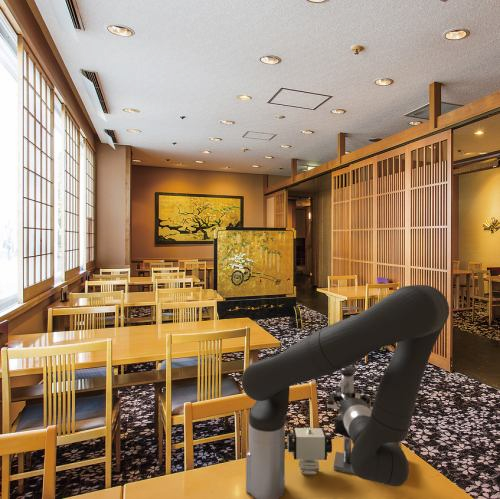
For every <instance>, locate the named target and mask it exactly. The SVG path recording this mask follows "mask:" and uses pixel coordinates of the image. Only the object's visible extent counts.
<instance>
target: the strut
mask: <svg viewBox="0 0 500 499" xmlns="http://www.w3.org/2000/svg"><path fill="white" fill-rule="evenodd" d="M339 373H340V377H341V378H340V379H341V380H340V384H341V385H340V386H341V388H340V389H341V392H342V394H343V395H346V396H347V398H349V399H351V398H354V389H355V387H354V385H355V384H354V383H355V382H354V381H355V380H354V377H355V373H356V368H355V366H352V365H350V366H348V367H346V368H344V369H341V370H339ZM334 433H335V434H339V435H341V436H342V435H343V436H345V437H348V438H350V439H351V437H350V435H349V434H348V432H347V430H346V428H345V426H344V422H343V420H342V417H341V414H339V415H337V416H335V418H334ZM343 436H342V437H343Z"/></svg>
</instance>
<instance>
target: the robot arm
mask: <svg viewBox="0 0 500 499" xmlns="http://www.w3.org/2000/svg"><path fill="white" fill-rule="evenodd" d="M449 305H450V304H449V302H448V300H447V298H446V296H445V294H444V293H443V292H441V290H439V289H437V288H436V287H434V286H431V285H426V284H414V285H413V284H411V285H406V286H403V287H400V288H397V289H396V290H394V291H393V292H391V293H390V294H389V293H388V295H386V296H385V297H384V298H383V299H381V300H379V301H378V302H376V303H375V304H373V305H371V306H369V307H368V308H367V309H365V310H364V311H362V312H360V313H357V314H356V315H354V316H351V317H347V318H344V319H342V320H339V321H336V322H334V323H331V324H329V325H328V326H325V327H322V328H321V329H318V330H317V331H315V332H313V333H311V334H310V335H308V336H306V337H304V338H302V339H300V340H299V341H298V342H296V343H294V344H292V345H291V346H290V347H288V348H287V349H285V350H283V351H282V352H280V353H279V354H277V355H275V356H268V357H266V358H263V359H260V360H257V361H255V362H253V363H251V364H250V365H248V366H247V367H246V368H245V369H244V371H243V374H242V377H241V386H242V390H243V392H244V393H245V395H246V396H247V397H248V398H250V399H252V400H255V403H254V404H253V406H252V407H251V408H250V410H249V414H248V450H247V452H246V456H245V492H246V493H248V494H249V495H251V496H252V497H253V498H255V499H280V498H282V496H283V495H284V494H285V490H286V489H285V485H286V482H285V480H286V479H285V475H286V472H285V471H286V470H285V468H286V466H285V465H286V459H285V458H286V451H285V450H286V417H287V414H288V411H289V404H290V387H291V386H294V385H298V384H302V383H305V382H309V381H312V380H316V379H319V378H322V377H325V376H327V375H328V376H329V375H331V374H333V373H337V372H340V370H341V369H344V368H346V367H348V366H352V365H354V364H356V363H358V362H359V361H361V360H362V359H363V358H365V357H367V356H368V355H369V354H371V353H372V352H374V351H376V350H379V349H381V348H384V347H387V346H390V345H394V344H396V346H395V349H394V351H393V355H392V357H391V359H390V362H389V364H388V366H387V367H386V369H385V371H384V373H383V375H382V377H381V380H380V382H379V385H378V387H377V390H376V394H375V395H374V396H375V397H374V399H373V398H372V397H370V396H369V395H367V394H365V393H364V394H362V395H361V394H360V393H359V392H358V390H356V389H355V388H354V398H351V399H349V398H347V396H346V395H343V394H342V392H341V388H340V387H337V388H336V389H335V393H334V392H333V393H332V392H331V394H330V395H329V397H328V398H327V403H326V404H327V405H326V406H327V407H326V410H327V411H329V412H330V411H332V410H336V411H337V412H338V413H339V415H341V417H342V420H343V422H344V426H345V428H346V430H347V432H348V434H349V435H350V437H351V444H352V445H353V446H352V447H351V466H352V469H353V471H354V472H355V474H356V476H357V477H358V478H360V479H362V480H365V481H369V482H374V483H376V484H377V483H378V484H382V485H385V486H390V487H394V488H395V487H400V486H403V485H404V484H405V483H406V482H407V480H408V478H409V474H410V467H409V461H408V459H407V456H406V454H405V451H404V450H403V448H402V449H401V448H400V446H399V445H398V444H397V443H396V442H401V443H402V442H404V441H405V440H406V438H407V436H408V433H409V430H410V426H411V422H412V419H413V414H414V411H415V408H416V402H417V399H418V395H419V391H420V387H421V385H422V381H423V378H424V375H425V374H424V373H425V371H426V368H427V365H428V363H429V359H430V357H431V354H432V351H433V350H434V347H435V345H436V344H437V341H438V340H439V336H440V335H441V332H442V330H443V329H444V327H445V324H446V322H447V321H448V318H449V316H450V306H449ZM355 474H354V475H355Z"/></svg>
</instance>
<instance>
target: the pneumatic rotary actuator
mask: <svg viewBox="0 0 500 499" xmlns="http://www.w3.org/2000/svg"><path fill="white" fill-rule="evenodd" d="M291 430H292V431H290V434H287V435H286V438H287V440H286V445H287V446H286V447H287V452H288V453H292V457H293V460H299V461H298V468H299V471H301V474H302V475H304V476H305V475H306V476H309V475H310V476H316V475H317V474H318V473H317V471H320V464H319V461H327V460H328V459H327V458H328V457H329V454H331V453H332V452H333V442H332V437H331V435H330V434H326V431H325V428H321V427H318V428H316V427H315V428H314V427H310V426H309V427H306V426H305V427H292V429H291Z"/></svg>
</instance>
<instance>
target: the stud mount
mask: <svg viewBox="0 0 500 499" xmlns="http://www.w3.org/2000/svg"><path fill="white" fill-rule="evenodd" d="M341 436H342V437H343V452H340V451H335V455H334V461H333V471H337V472H341V473H347V474H352V475H356V474H355V472H354V471H353V469H352V466H351V451H352V440H351V439H350V438H348V437H345V436H343V435H341ZM356 476H357V475H356Z"/></svg>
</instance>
